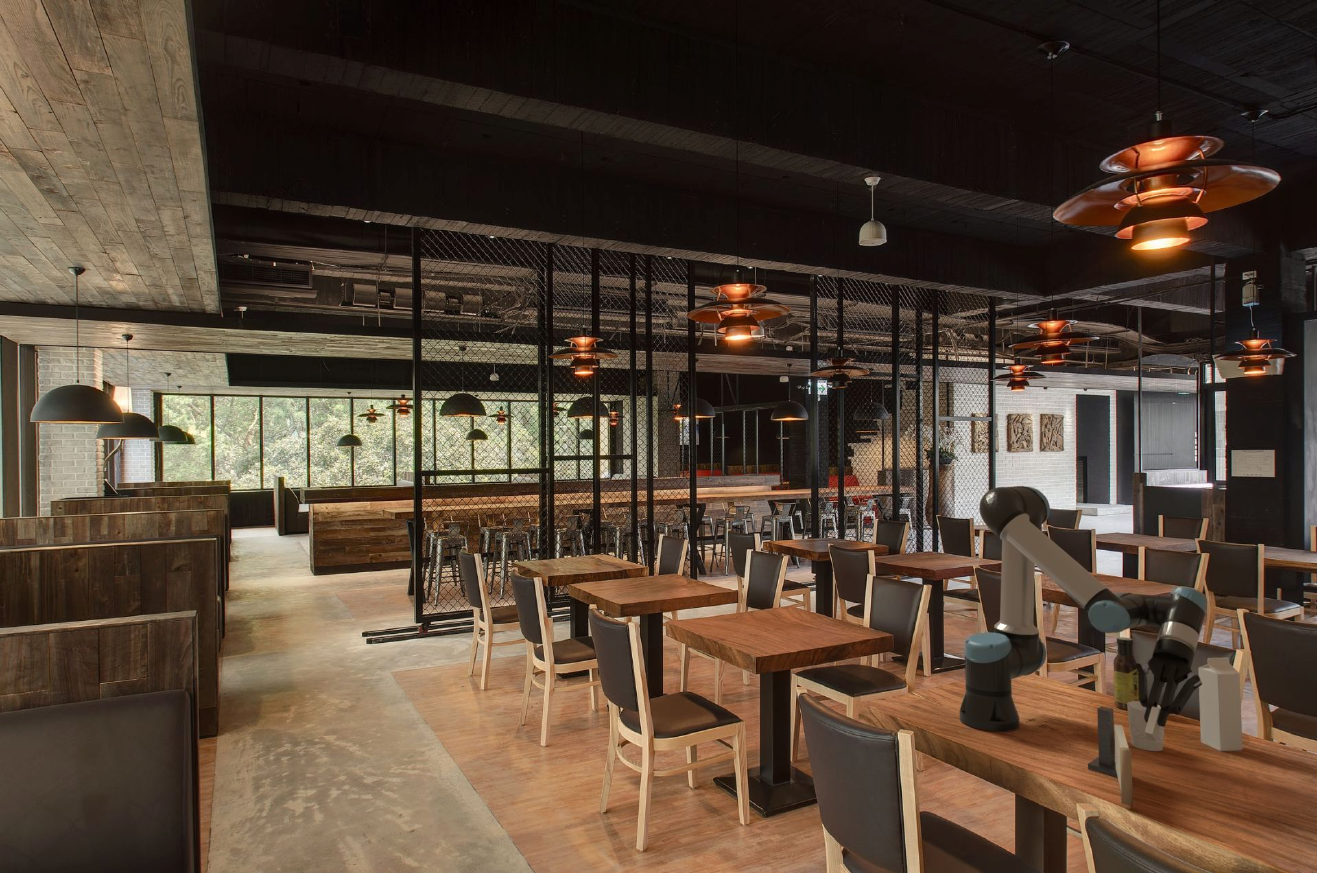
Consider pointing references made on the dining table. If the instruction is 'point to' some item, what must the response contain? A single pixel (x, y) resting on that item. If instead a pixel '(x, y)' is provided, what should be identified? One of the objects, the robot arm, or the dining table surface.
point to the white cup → (1142, 728)
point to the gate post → (1105, 743)
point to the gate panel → (1123, 765)
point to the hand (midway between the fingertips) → (1150, 736)
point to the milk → (1220, 705)
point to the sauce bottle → (1125, 674)
